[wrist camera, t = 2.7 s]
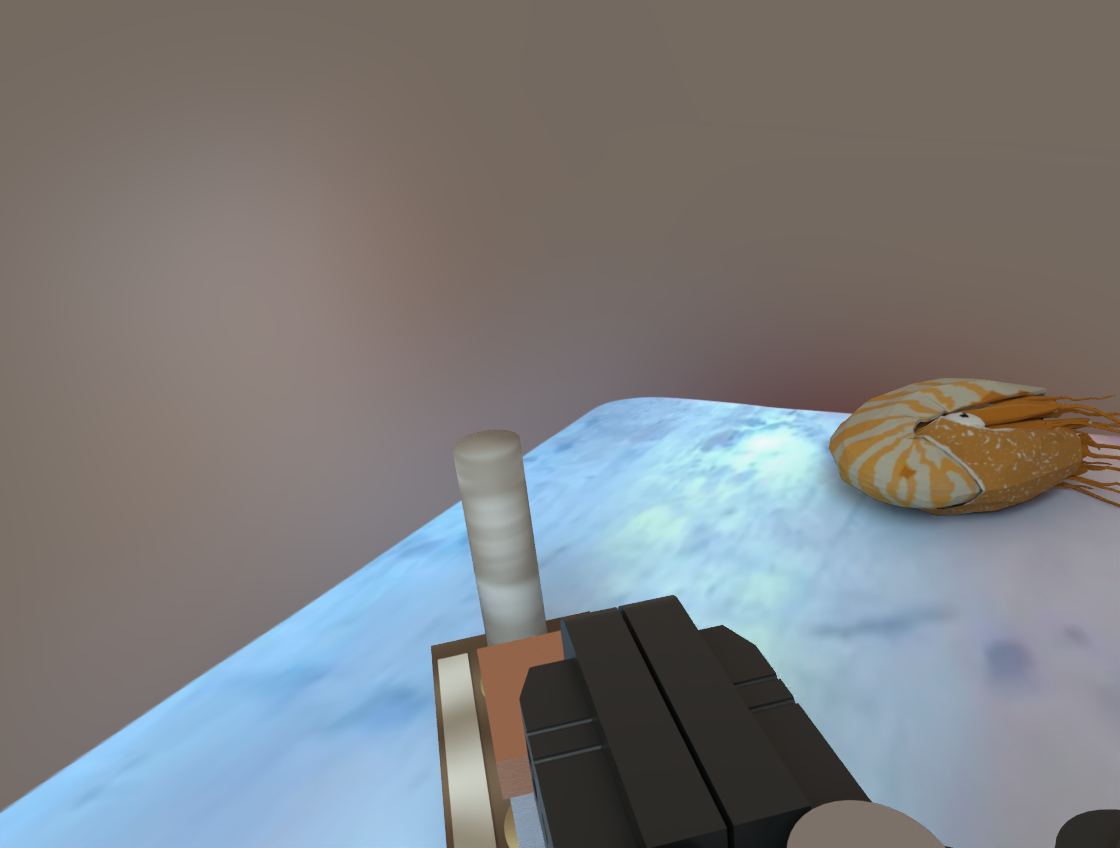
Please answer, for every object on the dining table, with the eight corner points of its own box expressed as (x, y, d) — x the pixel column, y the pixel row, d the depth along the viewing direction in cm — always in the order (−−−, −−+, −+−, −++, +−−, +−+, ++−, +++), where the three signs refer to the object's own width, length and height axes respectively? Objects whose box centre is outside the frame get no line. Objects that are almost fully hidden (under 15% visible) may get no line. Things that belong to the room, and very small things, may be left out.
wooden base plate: (435, 668, 43) (385, 427, 38) (592, 633, 44) (563, 395, 39) (495, 1379, 18) (371, 957, 13) (847, 1251, 20) (860, 822, 14)
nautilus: (1162, 474, 55) (1210, 601, 43) (844, 435, 64) (811, 530, 52) (1192, 370, 52) (1253, 476, 40) (851, 345, 61) (818, 424, 49)
